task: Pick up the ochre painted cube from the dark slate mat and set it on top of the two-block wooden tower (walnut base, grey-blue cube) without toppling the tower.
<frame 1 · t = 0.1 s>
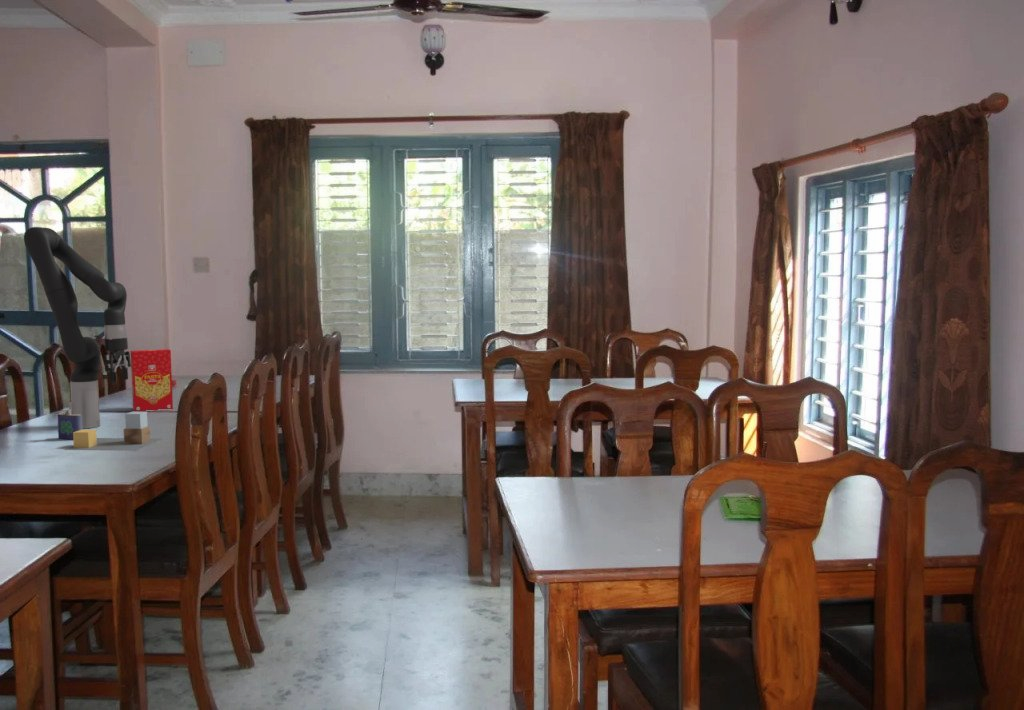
hand: (119, 381, 321), 17 cm above the table, tool pointing down, fingers open, 8 cm apart
food packaging: (153, 410, 362), on the table
slate mat: (115, 445, 289), on the table
ochre block: (85, 446, 286), resting on slate mat
tower mid: (136, 427, 291), point 5 cm above the table, touching tower base
flask: (70, 440, 298), on the table
tower base: (137, 442, 292), resting on slate mat, touching tower mid
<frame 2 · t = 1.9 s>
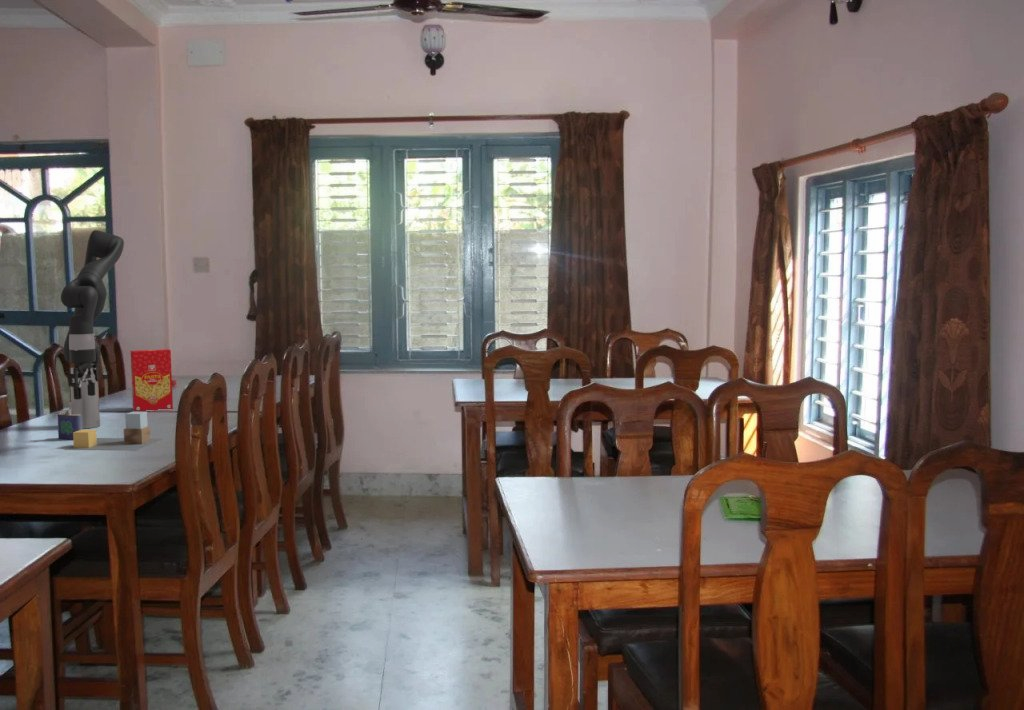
hand: (84, 397, 284), 16 cm above the table, tool pointing down, fingers open, 8 cm apart
nothing on the table moved.
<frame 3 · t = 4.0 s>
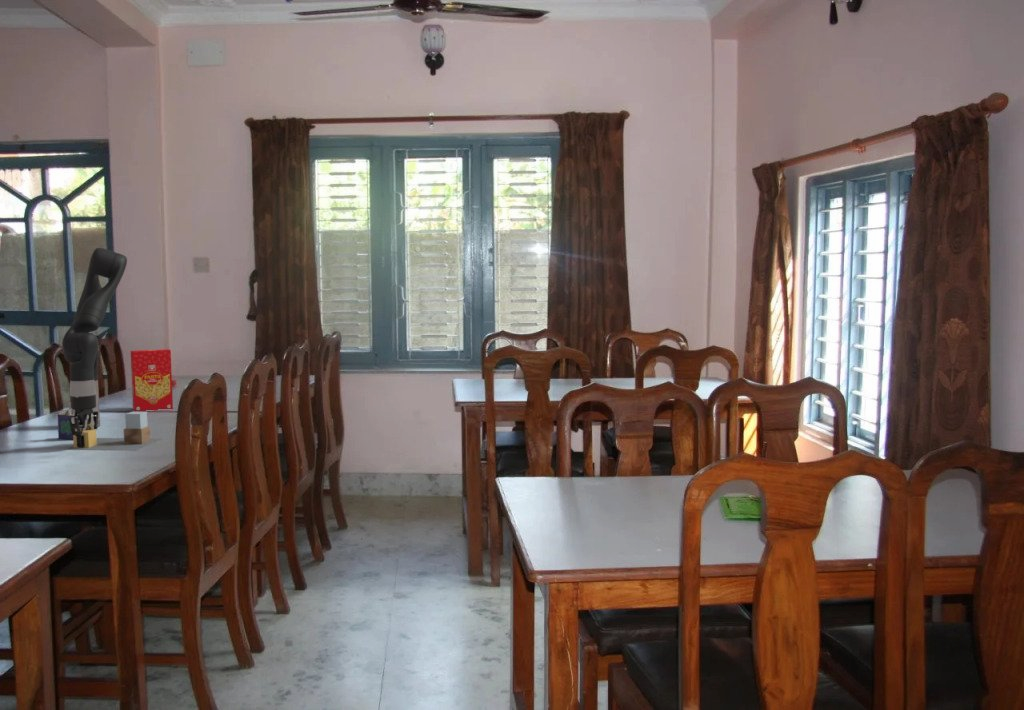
hand: (85, 445, 285), 1 cm above the table, tool pointing down, fingers closed on ochre block, 5 cm apart
ochre block: (85, 446, 286), resting on slate mat, touching gripper
everything else where it was.
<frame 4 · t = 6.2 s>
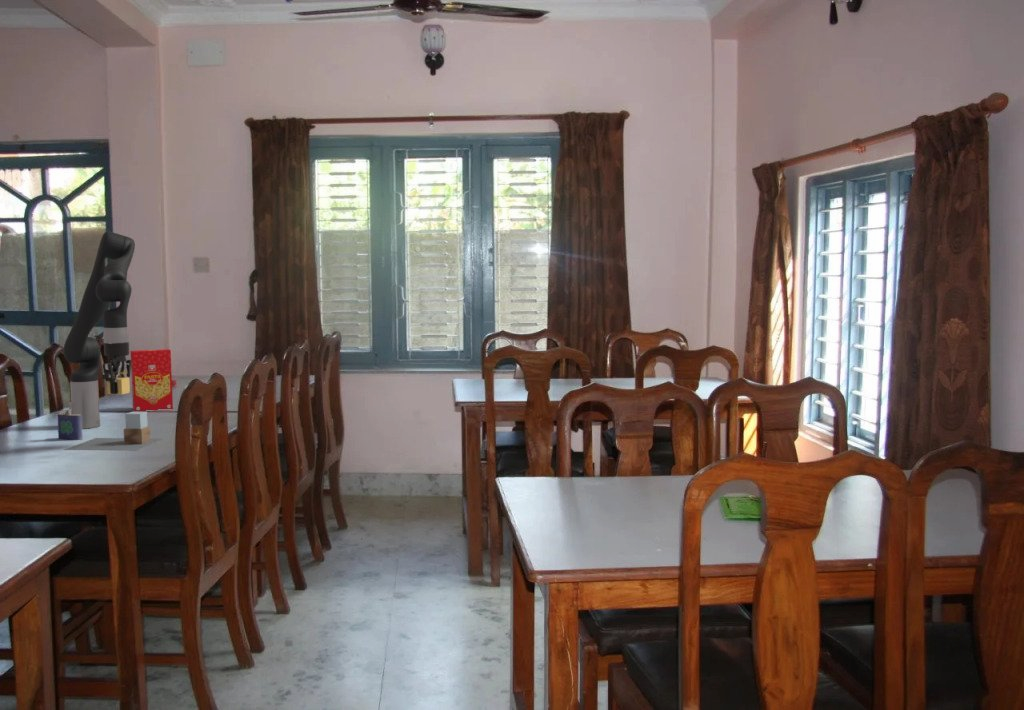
hand: (118, 392, 288), 18 cm above the table, tool pointing down, fingers closed on ochre block, 5 cm apart
ochre block: (118, 393, 288), point 17 cm above the table, touching gripper
everything else where it was.
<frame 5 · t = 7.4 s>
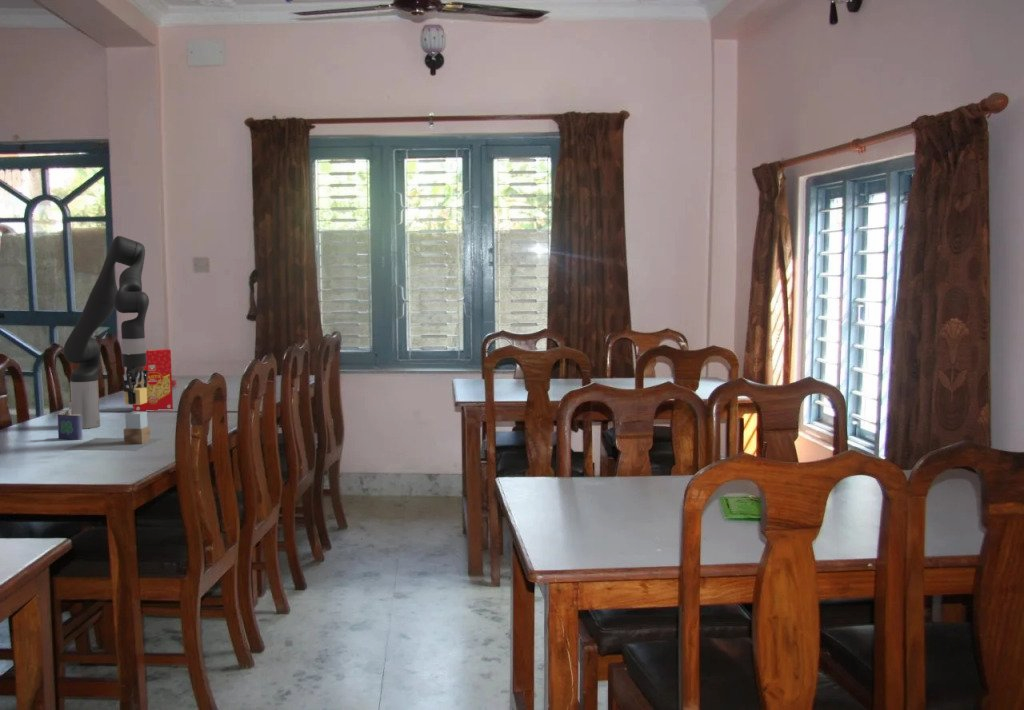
hand: (136, 402, 291), 14 cm above the table, tool pointing down, fingers closed on ochre block, 5 cm apart
ochre block: (136, 403, 291), point 14 cm above the table, touching gripper
everything else where it was.
when the fingers open (12 cm above the table, at t = 8.3 s): ochre block drops 1 cm, resting on tower mid.
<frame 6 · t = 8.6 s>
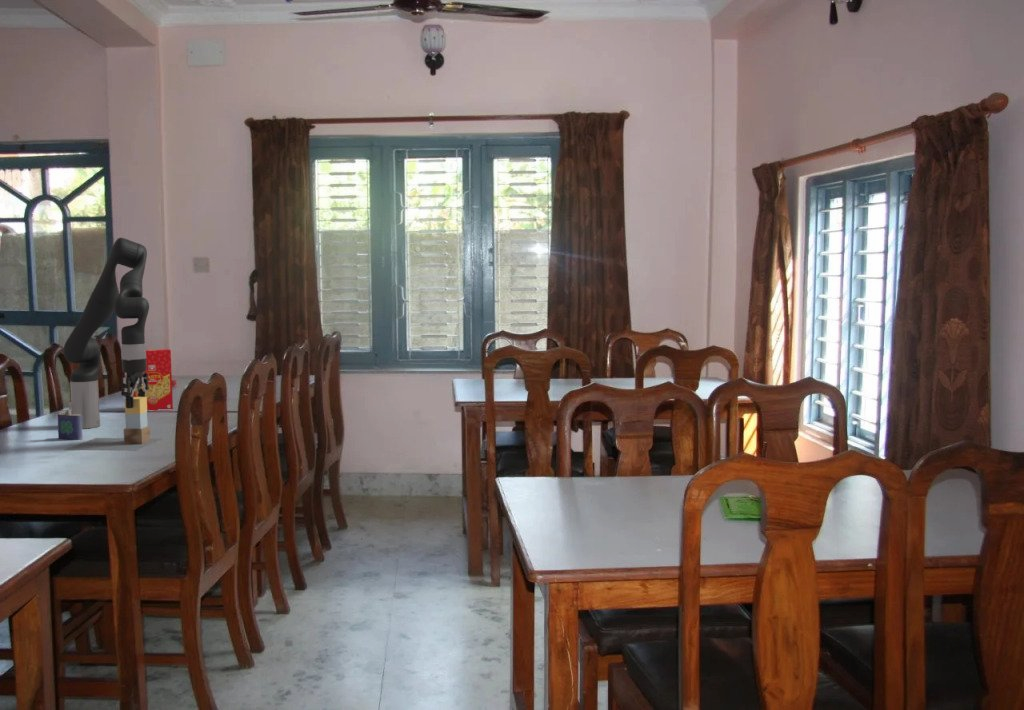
hand: (135, 406, 291), 13 cm above the table, tool pointing down, fingers open, 8 cm apart
ochre block: (136, 412, 291), point 10 cm above the table, touching tower mid
tower mid: (136, 427, 291), point 5 cm above the table, touching ochre block, tower base
everything else where it was.
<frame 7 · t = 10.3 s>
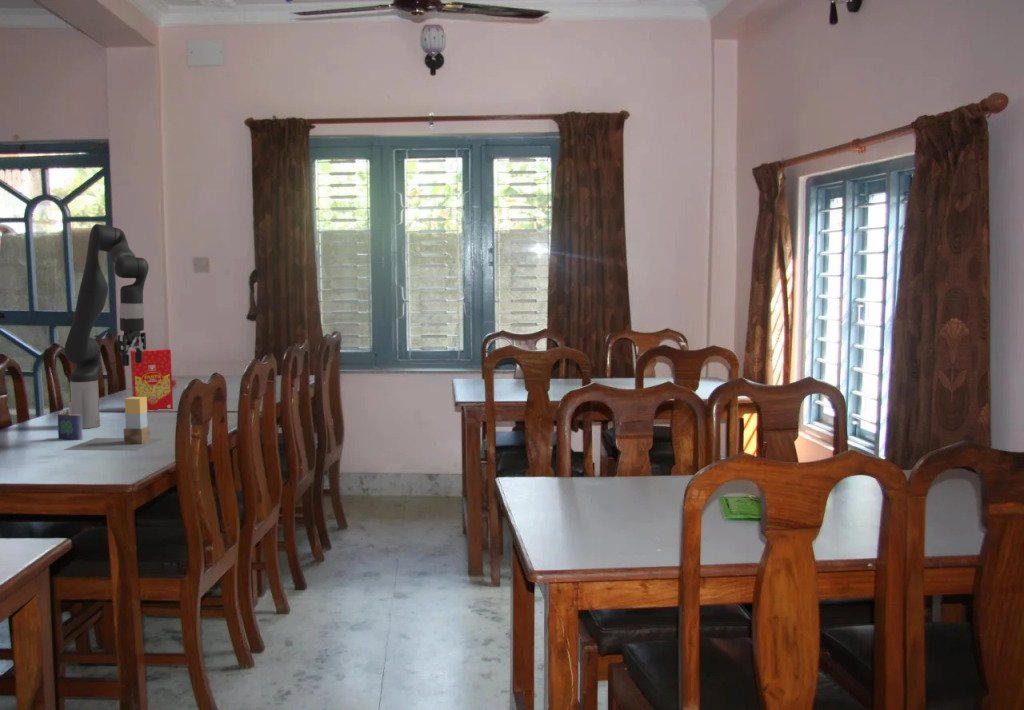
hand: (132, 364, 296), 26 cm above the table, tool pointing down, fingers open, 8 cm apart
nothing on the table moved.
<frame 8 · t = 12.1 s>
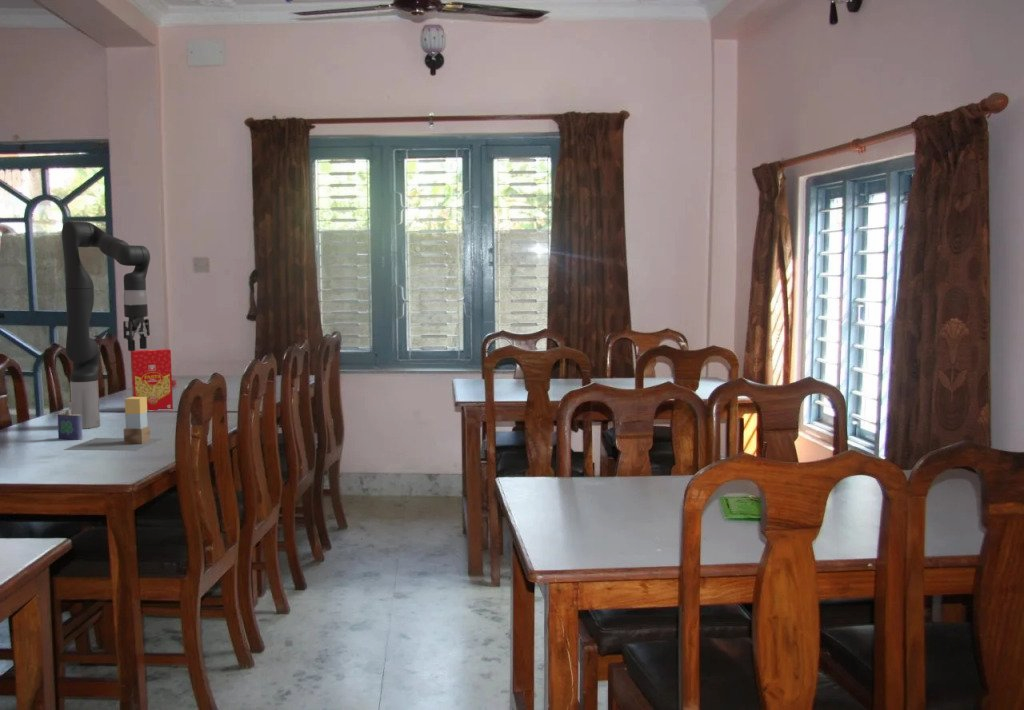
hand: (137, 349, 304), 30 cm above the table, tool pointing down, fingers open, 8 cm apart
nothing on the table moved.
at the end: ochre block 0.1 cm off-centre on the tower mid, point 5.0 cm above the tower mid's base; tower mid tilted 0°; tower base moved 0.0 cm from its start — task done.
